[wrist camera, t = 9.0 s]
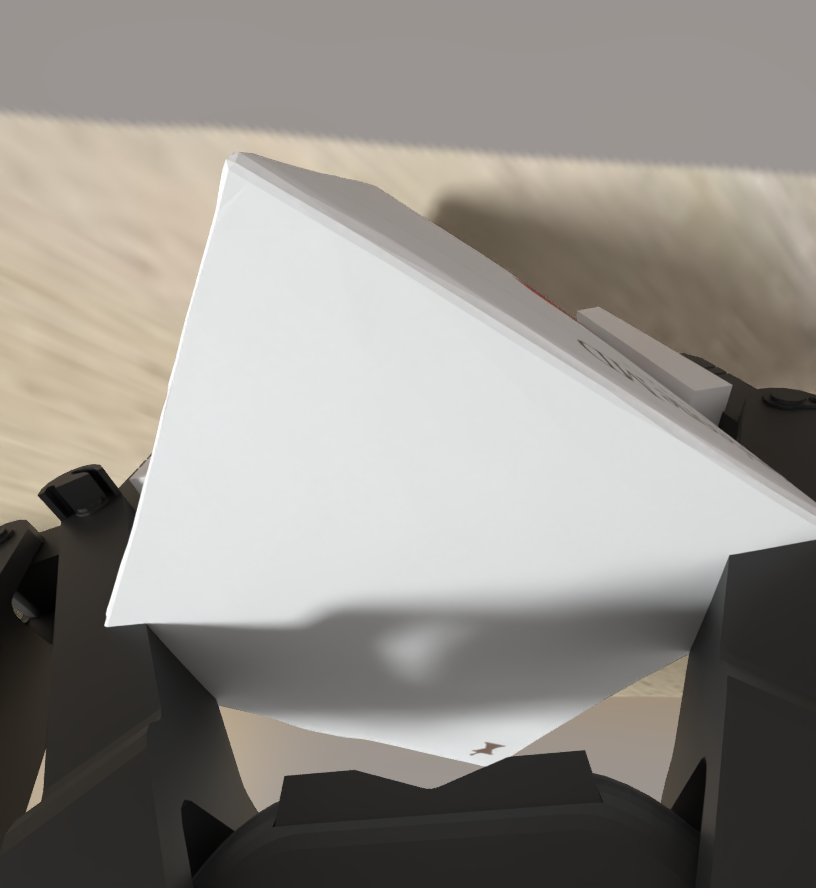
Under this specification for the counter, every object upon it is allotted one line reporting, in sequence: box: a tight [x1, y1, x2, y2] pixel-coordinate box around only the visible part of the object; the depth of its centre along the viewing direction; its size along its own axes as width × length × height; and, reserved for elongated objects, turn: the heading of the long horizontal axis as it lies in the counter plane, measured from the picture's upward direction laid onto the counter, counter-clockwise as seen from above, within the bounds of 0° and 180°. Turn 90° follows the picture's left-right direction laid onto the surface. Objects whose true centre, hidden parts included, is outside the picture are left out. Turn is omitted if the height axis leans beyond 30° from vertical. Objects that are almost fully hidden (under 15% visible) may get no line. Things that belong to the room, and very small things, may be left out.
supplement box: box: [104, 152, 816, 766], centre depth 12 cm, size 9×9×15 cm
